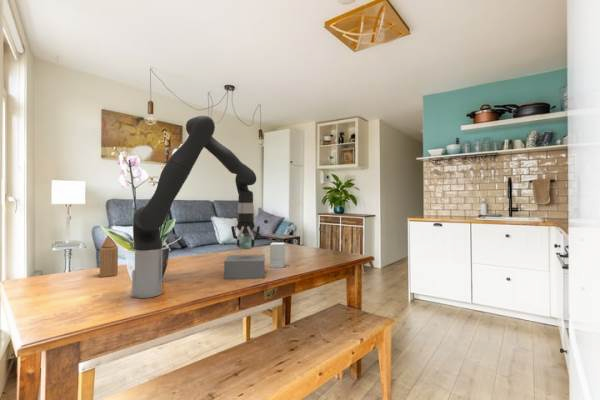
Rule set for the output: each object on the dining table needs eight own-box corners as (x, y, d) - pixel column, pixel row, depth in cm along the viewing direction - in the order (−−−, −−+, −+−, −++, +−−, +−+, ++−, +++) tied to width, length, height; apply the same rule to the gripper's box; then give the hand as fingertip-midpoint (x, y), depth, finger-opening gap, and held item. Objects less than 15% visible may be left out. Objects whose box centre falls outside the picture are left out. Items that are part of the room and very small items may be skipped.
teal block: (239, 249, 140) (239, 237, 140) (240, 247, 146) (240, 236, 146) (251, 249, 141) (251, 237, 141) (251, 247, 146) (251, 236, 146)
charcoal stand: (224, 279, 134) (224, 261, 134) (228, 270, 150) (228, 254, 150) (264, 278, 136) (264, 260, 136) (264, 270, 152) (264, 254, 152)
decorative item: (99, 277, 136) (99, 234, 136) (101, 274, 142) (101, 232, 142) (116, 276, 139) (116, 233, 139) (117, 272, 145) (118, 231, 145)
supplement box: (285, 265, 164) (285, 242, 164) (283, 268, 157) (283, 244, 157) (272, 264, 165) (272, 242, 165) (269, 267, 158) (269, 243, 158)
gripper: (229, 212, 139) (229, 248, 139) (260, 212, 140) (260, 248, 140) (231, 212, 146) (231, 246, 146) (261, 211, 148) (261, 245, 148)
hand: (245, 247), depth 143 cm, fingers closed on teal block, 5 cm apart
